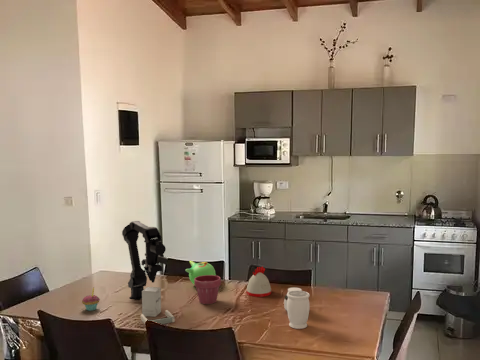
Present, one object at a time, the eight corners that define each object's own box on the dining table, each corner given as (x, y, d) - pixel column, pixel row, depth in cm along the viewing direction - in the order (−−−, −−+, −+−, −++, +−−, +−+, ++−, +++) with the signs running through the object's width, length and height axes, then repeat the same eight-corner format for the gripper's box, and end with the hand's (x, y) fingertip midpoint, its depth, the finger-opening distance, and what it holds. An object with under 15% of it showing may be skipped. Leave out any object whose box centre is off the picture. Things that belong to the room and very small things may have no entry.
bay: (140, 319, 224) (140, 314, 224) (167, 314, 230) (167, 310, 230) (146, 326, 214) (146, 322, 214) (174, 321, 220) (174, 317, 220)
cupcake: (103, 307, 241) (102, 284, 240) (92, 312, 233) (92, 289, 232) (89, 305, 244) (88, 283, 243) (78, 311, 236) (77, 287, 235)
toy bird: (214, 290, 269) (214, 265, 268) (185, 290, 269) (185, 265, 269) (216, 281, 287) (216, 257, 286) (189, 281, 287) (188, 258, 286)
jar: (284, 321, 218) (284, 290, 217) (306, 321, 219) (306, 289, 218) (289, 330, 208) (289, 297, 207) (311, 329, 209) (311, 296, 208)
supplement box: (156, 317, 226) (155, 291, 226) (141, 316, 228) (141, 290, 227) (161, 311, 234) (161, 287, 233) (147, 311, 235) (147, 286, 234)
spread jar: (290, 316, 225) (290, 293, 225) (278, 309, 235) (278, 287, 235) (310, 312, 231) (310, 289, 230) (297, 305, 241) (297, 283, 240)
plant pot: (199, 296, 257) (198, 273, 257) (223, 298, 254) (223, 275, 254) (191, 305, 243) (190, 281, 243) (217, 306, 241) (216, 282, 240)
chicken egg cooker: (276, 293, 261) (276, 267, 260) (256, 298, 254) (256, 271, 253) (261, 288, 273) (261, 262, 272) (241, 292, 265) (241, 266, 264)
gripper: (171, 253, 236) (172, 283, 237) (161, 247, 253) (161, 275, 254) (150, 256, 231) (151, 286, 232) (140, 249, 248) (141, 277, 249)
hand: (152, 281), depth 242 cm, fingers open, 4 cm apart
